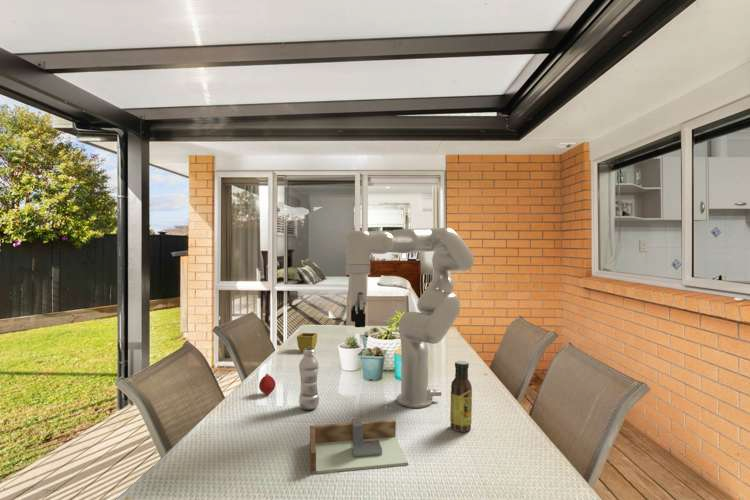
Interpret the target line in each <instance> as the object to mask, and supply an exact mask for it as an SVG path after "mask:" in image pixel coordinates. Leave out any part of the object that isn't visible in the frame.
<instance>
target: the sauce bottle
mask: <svg viewBox="0 0 750 500" xmlns="http://www.w3.org/2000/svg"><path fill="white" fill-rule="evenodd" d="M469 366H470V365H469V361H465V360H456V361H455V362H454V368H455V369H454V370H455V372H454V373H455V375H454V379H453V380H452V381H451V386H450V419H449V421H450V427H451V430H454V431H456V432H463V433H465V432H468V431H471V428H472V426H471V425H472V413H473V412H472V411H473V409H472V408H473V407H472V406H473V405H472V404H473V401H472V400H473V388H472V383H471V381H470V380H469Z"/></svg>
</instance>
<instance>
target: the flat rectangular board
mask: <svg viewBox="0 0 750 500" xmlns="http://www.w3.org/2000/svg"><path fill="white" fill-rule="evenodd" d="M375 440H379V443H380V445H381V448H382V455H378V456H366V457H355V458H353V454H352V450H351V440H350V441H338V442H326V443H316V471H313V473H312V471H311V470H310V475H315V474H325V473H327V474H328V473H336V472H344V471H345V472H346V471H347V472H348V471H356V470H367V469H376V468H390V467H398V466H399V467H400V466H408V465H409V462H408V460H407V458H406V455H405V454H404V453H405V452H404V451H403V449H402V447H401V444H400V443H399V441H398V439H397V437H387V438H375V439H363V441H375ZM315 472H316V473H315Z"/></svg>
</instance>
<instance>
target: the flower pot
mask: <svg viewBox="0 0 750 500" xmlns="http://www.w3.org/2000/svg"><path fill="white" fill-rule="evenodd" d="M296 340H297V346H298V350H299V351H300V352H301V353H303V350H304V349H305V348H314V349H315V348H316V346H317V341H318V333H317V332H311V333H310V332H302V333H300V334H298V335H297V336H296Z"/></svg>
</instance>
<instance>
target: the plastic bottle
mask: <svg viewBox="0 0 750 500" xmlns="http://www.w3.org/2000/svg"><path fill="white" fill-rule="evenodd" d="M315 353H316V352H315V348H305V349H304V350H303V352H302V356H303V357H302V358H301V360H300V361H299V364H298V368H299V369H298V370H299V375H300V393H299V399H298V403H299V407H300V408H301V409H302V410H307V411H310V410H314V409H317V408H318V406H319V401H320V398H319V397H320V396H319V394H318V373H319V362H318V360H317V358H316V357H315V355H316V354H315Z"/></svg>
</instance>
